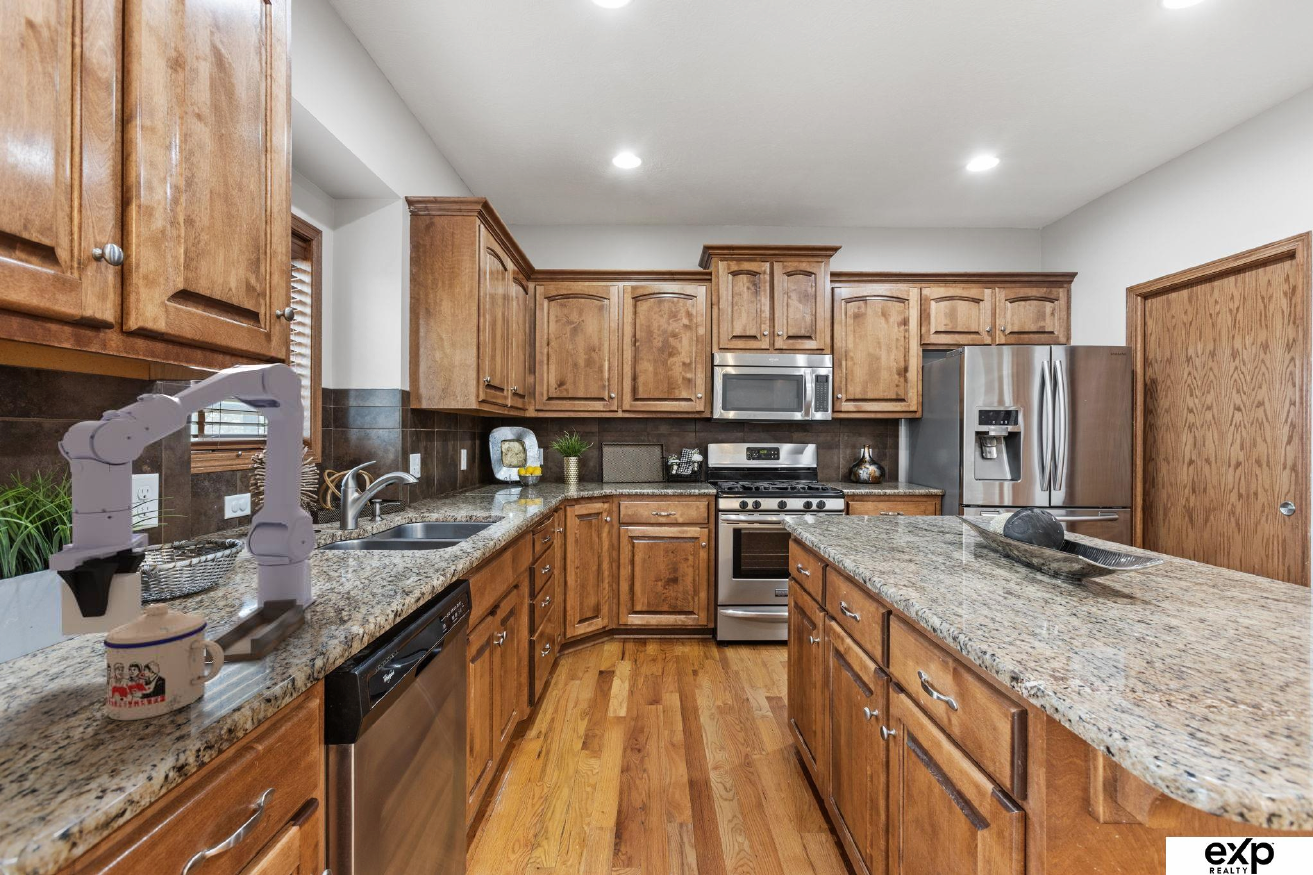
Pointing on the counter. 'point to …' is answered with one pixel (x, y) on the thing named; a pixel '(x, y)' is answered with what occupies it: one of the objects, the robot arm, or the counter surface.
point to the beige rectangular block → (119, 609)
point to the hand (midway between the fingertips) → (104, 611)
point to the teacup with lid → (157, 663)
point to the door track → (259, 631)
